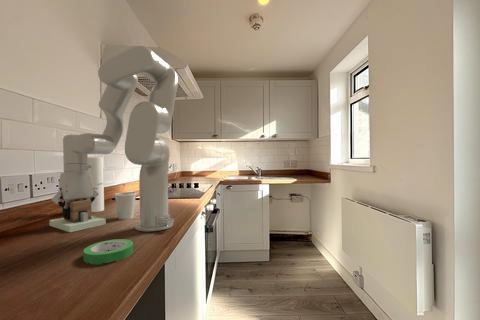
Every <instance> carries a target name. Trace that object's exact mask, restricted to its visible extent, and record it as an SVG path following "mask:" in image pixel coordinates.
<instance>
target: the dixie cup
mask: <svg viewBox="0 0 480 320" xmlns="http://www.w3.org/2000/svg"><path fill="white" fill-rule="evenodd" d="M113 196H114V198H115V199H114V201H115V205H116V211H117V218H118V220H130V219H133V218H134V216H135V215H134V214H135V206H136V205H135V204H136V196H137V192H136V191H135V192H133V191H127V192H126V191H125V192H116V193H114V194H113Z"/></svg>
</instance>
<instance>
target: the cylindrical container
mask: <svg viewBox="0 0 480 320" xmlns="http://www.w3.org/2000/svg"><path fill="white" fill-rule="evenodd" d="M88 165H91V168H89V169H88V172H90V175H91V180H92V188H93V189H94V190H95V191H96V192H97V193H98V194H99V195H98V196H97V197H96V198H95V200H94V201H93V202H92V204H91V212H92V213H98V212H103V211H105V195H104V194H105V191H104V190H105V189H104V187H105V186H104V185H105V184H104V157H102V156H101V157H100V156H99V157H96V156H95V157H92V156H91V157H88ZM92 195H93V194H92ZM89 198H90V197H89Z"/></svg>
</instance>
